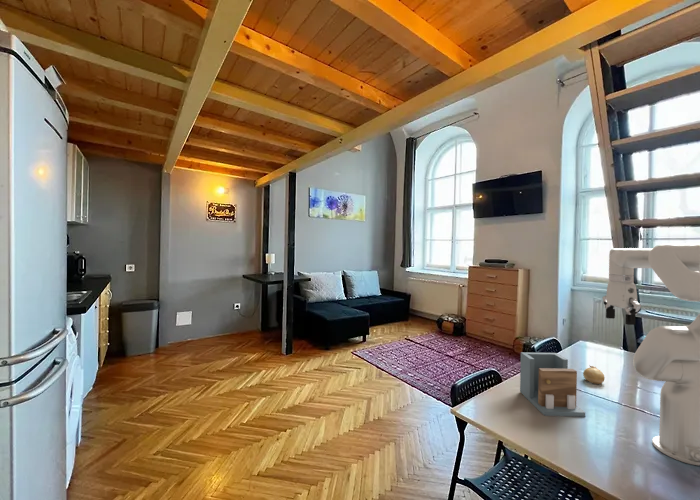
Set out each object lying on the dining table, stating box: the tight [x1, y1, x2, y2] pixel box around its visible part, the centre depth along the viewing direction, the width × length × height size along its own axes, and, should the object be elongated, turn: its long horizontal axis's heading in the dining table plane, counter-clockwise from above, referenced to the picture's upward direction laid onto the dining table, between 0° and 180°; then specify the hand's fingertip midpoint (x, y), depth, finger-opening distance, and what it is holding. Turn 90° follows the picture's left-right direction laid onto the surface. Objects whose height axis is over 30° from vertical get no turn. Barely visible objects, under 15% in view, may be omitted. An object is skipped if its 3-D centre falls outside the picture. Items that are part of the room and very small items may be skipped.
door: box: [538, 368, 578, 407], centre depth 120 cm, size 3×13×14 cm, turn 87°
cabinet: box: [519, 351, 586, 417], centre depth 125 cm, size 18×15×18 cm
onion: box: [582, 364, 606, 385], centre depth 145 cm, size 8×8×7 cm
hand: (619, 321), depth 125 cm, fingers open, 9 cm apart
